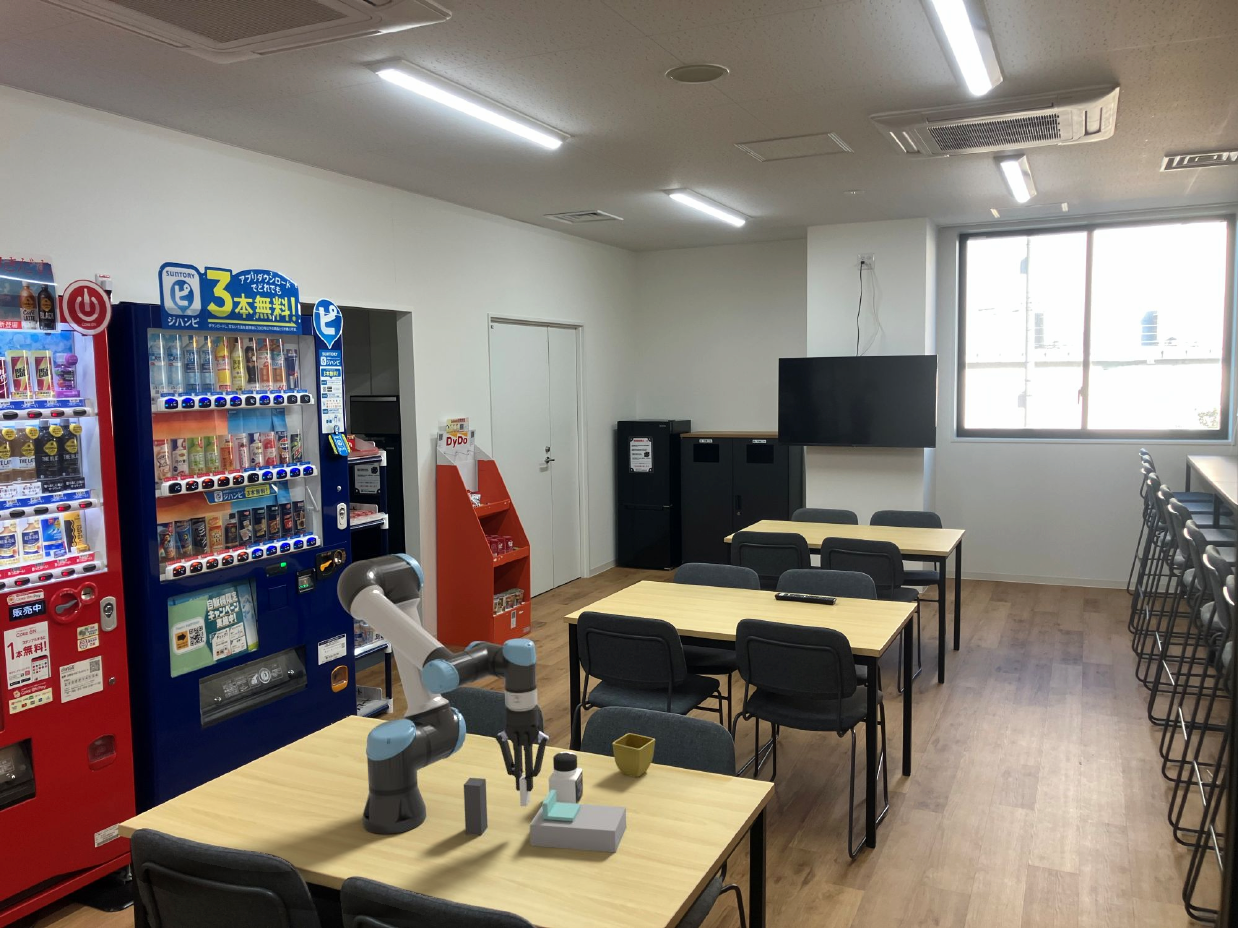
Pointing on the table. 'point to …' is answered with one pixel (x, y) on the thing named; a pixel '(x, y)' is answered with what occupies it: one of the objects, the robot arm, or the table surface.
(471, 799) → the plug
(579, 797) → the medicine bottle
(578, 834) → the socket
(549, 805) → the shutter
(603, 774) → the table surface
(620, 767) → the flower pot
